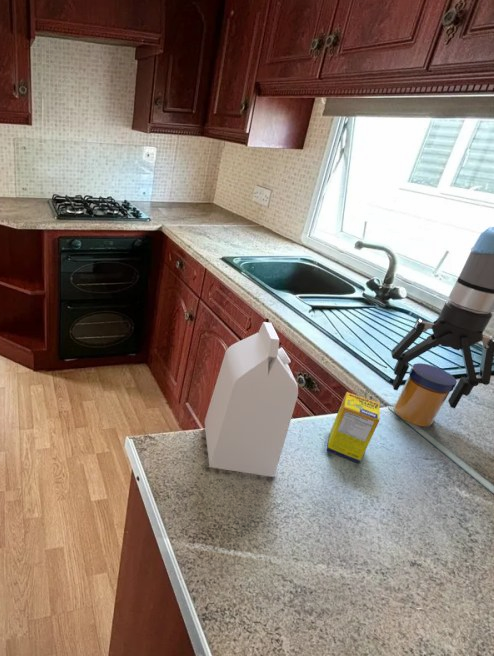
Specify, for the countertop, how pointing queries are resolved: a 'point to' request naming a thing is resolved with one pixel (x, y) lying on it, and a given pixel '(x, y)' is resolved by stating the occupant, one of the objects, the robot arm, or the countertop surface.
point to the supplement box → (353, 427)
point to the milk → (251, 405)
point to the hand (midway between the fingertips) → (422, 395)
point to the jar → (419, 403)
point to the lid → (432, 377)
